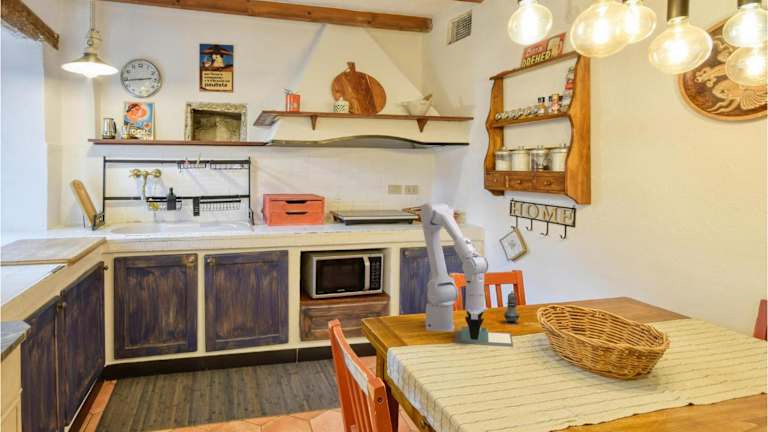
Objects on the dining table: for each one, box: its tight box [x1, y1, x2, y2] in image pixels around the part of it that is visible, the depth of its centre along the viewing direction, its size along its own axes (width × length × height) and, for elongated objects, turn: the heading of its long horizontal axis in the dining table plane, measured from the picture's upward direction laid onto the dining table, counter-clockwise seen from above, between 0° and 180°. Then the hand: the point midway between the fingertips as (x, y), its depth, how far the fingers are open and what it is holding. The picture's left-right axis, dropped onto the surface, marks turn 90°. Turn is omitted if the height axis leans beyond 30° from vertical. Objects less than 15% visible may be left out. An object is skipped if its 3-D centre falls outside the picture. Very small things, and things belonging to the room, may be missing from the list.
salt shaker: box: [502, 290, 521, 326], centre depth 179 cm, size 6×6×12 cm
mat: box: [454, 329, 514, 348], centre depth 161 cm, size 18×14×1 cm
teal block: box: [461, 326, 488, 342], centre depth 159 cm, size 8×4×4 cm, turn 79°
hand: (474, 335), depth 159 cm, fingers open, 7 cm apart
